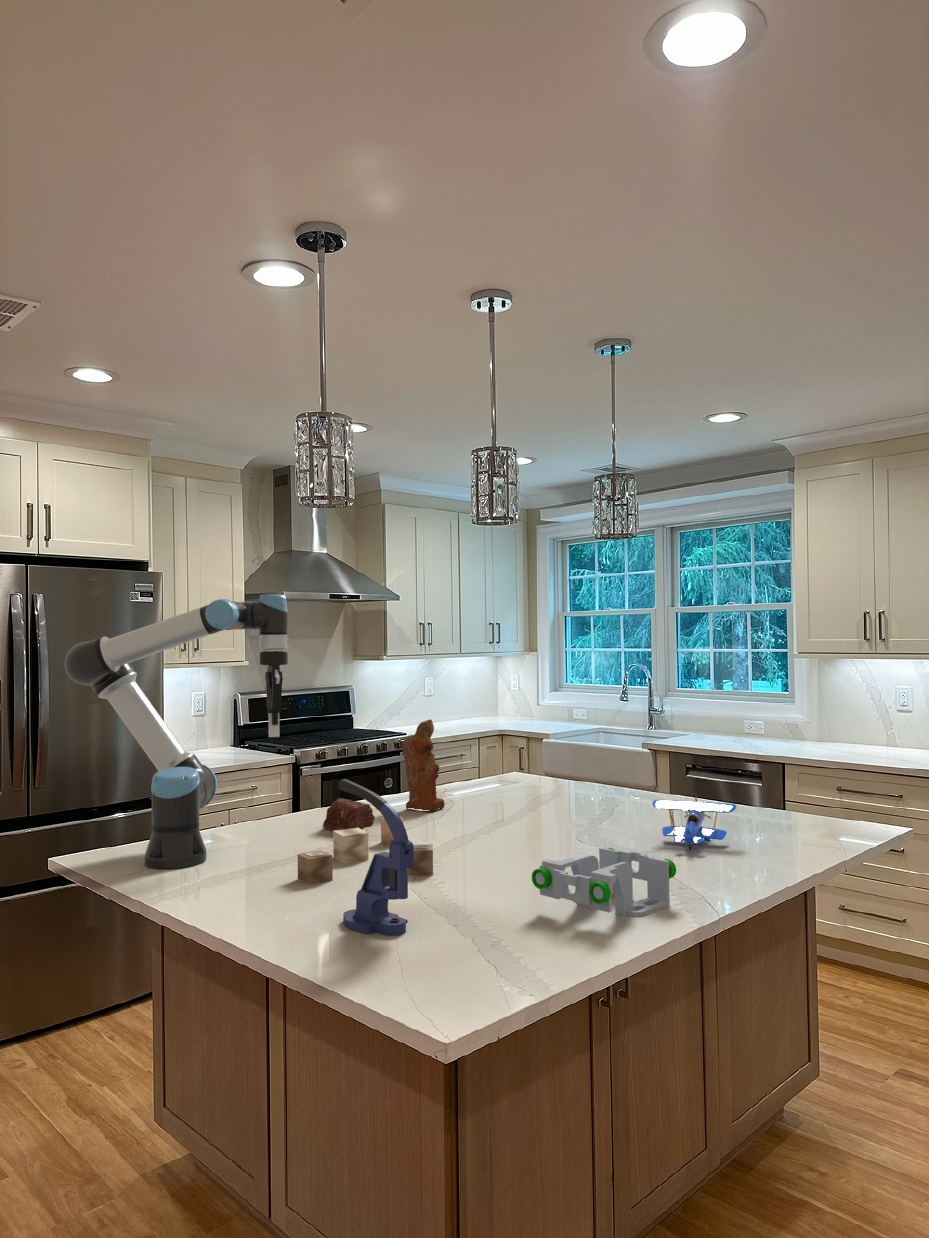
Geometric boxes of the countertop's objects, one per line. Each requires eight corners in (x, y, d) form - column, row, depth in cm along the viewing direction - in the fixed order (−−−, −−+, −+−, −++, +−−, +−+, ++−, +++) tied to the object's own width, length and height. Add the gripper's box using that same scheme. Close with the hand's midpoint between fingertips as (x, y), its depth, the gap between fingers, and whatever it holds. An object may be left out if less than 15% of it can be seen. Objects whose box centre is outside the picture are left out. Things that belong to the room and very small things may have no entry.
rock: (376, 833, 254) (376, 802, 255) (361, 837, 249) (362, 805, 249) (331, 825, 265) (331, 795, 265) (316, 829, 260) (316, 798, 260)
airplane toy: (724, 882, 223) (731, 837, 219) (638, 861, 230) (644, 817, 226) (731, 835, 246) (738, 793, 242) (653, 817, 253) (658, 777, 249)
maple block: (342, 863, 219) (342, 835, 219) (333, 857, 225) (333, 830, 225) (368, 860, 222) (368, 832, 223) (358, 854, 229) (358, 827, 229)
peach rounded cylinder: (384, 846, 237) (384, 820, 237) (378, 842, 242) (378, 816, 242) (405, 844, 239) (405, 818, 239) (398, 839, 245) (398, 815, 245)
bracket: (532, 911, 178) (531, 862, 178) (604, 886, 196) (603, 842, 196) (606, 932, 165) (605, 879, 165) (676, 903, 182) (676, 856, 183)
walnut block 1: (309, 885, 200) (309, 858, 200) (297, 879, 205) (297, 853, 205) (332, 880, 204) (332, 854, 204) (320, 875, 208) (320, 849, 208)
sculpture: (448, 808, 289) (447, 719, 290) (433, 813, 282) (432, 721, 283) (416, 805, 296) (415, 717, 297) (400, 809, 289) (400, 719, 290)
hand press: (423, 929, 167) (422, 784, 168) (391, 942, 161) (390, 791, 162) (357, 911, 180) (356, 776, 180) (324, 922, 173) (323, 781, 174)
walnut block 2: (408, 875, 207) (407, 849, 207) (408, 869, 213) (408, 844, 213) (433, 875, 207) (432, 849, 207) (432, 868, 213) (432, 843, 213)
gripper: (292, 650, 233) (292, 738, 232) (282, 650, 245) (283, 733, 244) (263, 650, 230) (264, 739, 229) (255, 650, 242) (256, 735, 242)
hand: (274, 736), depth 237 cm, fingers closed
